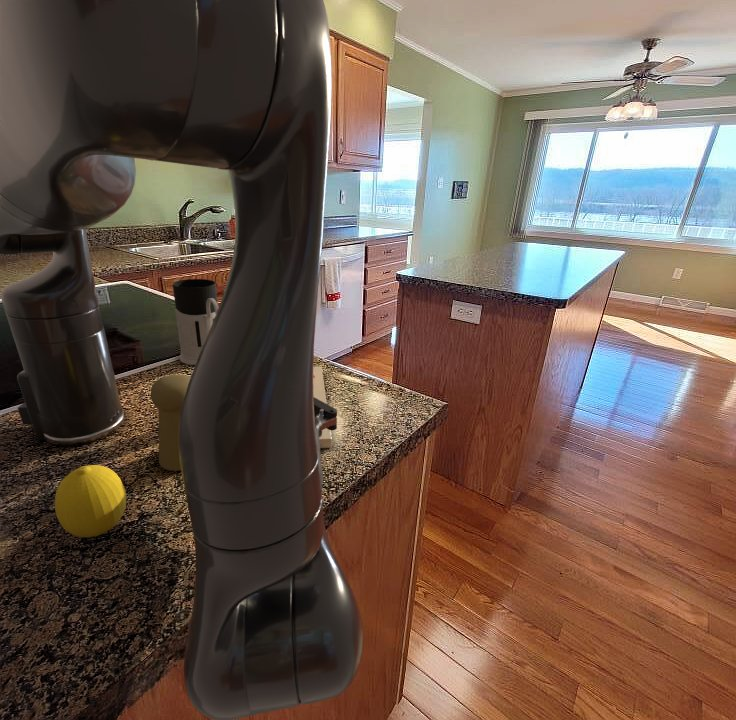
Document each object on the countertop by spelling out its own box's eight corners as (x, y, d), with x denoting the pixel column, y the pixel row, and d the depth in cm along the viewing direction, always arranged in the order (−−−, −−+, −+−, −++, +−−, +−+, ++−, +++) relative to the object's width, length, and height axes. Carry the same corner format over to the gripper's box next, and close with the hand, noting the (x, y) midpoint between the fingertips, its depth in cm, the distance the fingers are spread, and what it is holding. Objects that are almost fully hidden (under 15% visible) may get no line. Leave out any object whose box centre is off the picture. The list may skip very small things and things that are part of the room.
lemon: (102, 561, 37) (82, 493, 33) (51, 549, 37) (28, 481, 34) (145, 517, 42) (131, 454, 38) (99, 507, 42) (82, 445, 39)
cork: (154, 473, 48) (138, 393, 43) (163, 444, 53) (150, 370, 49) (207, 467, 49) (197, 389, 45) (211, 439, 55) (202, 367, 50)
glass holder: (215, 345, 86) (207, 276, 80) (245, 367, 77) (240, 291, 71) (173, 354, 81) (161, 281, 75) (200, 379, 71) (190, 297, 65)
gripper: (350, 431, 39) (334, 362, 55) (210, 439, 37) (235, 363, 52) (348, 491, 42) (333, 409, 58) (217, 501, 40) (239, 412, 55)
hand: (286, 387), depth 55 cm, fingers closed
